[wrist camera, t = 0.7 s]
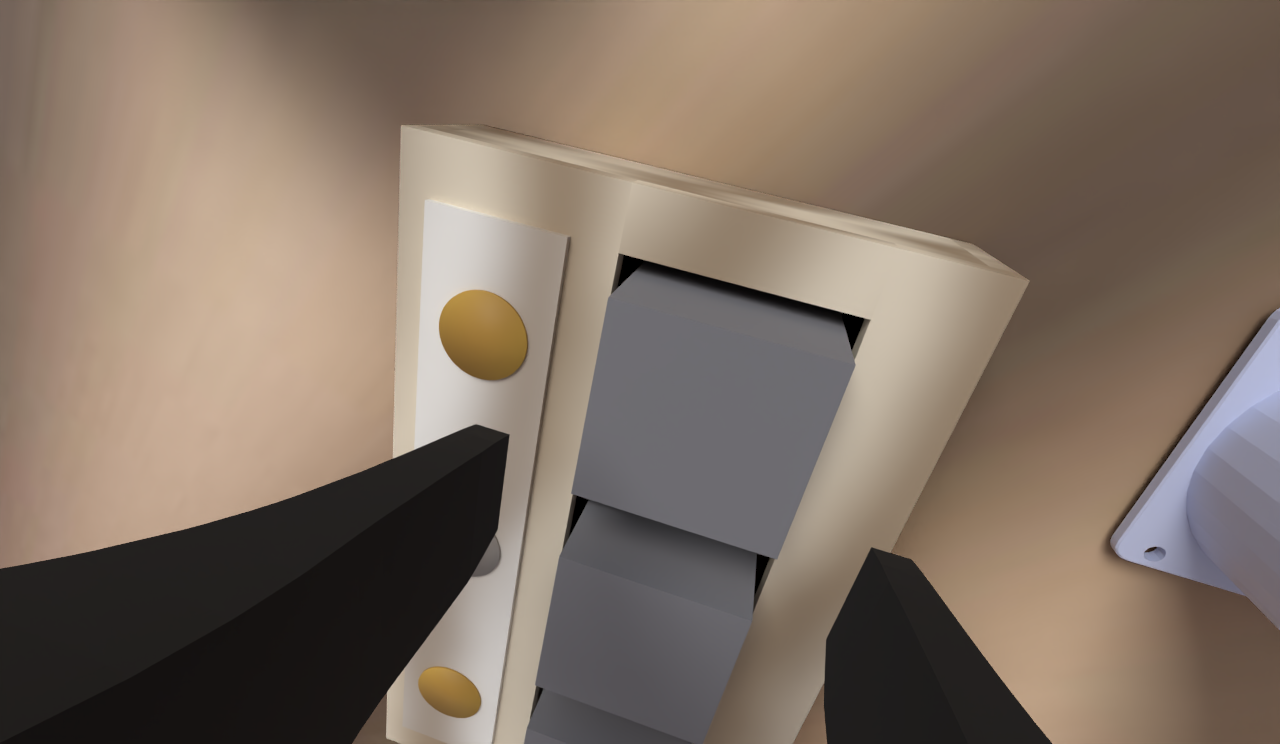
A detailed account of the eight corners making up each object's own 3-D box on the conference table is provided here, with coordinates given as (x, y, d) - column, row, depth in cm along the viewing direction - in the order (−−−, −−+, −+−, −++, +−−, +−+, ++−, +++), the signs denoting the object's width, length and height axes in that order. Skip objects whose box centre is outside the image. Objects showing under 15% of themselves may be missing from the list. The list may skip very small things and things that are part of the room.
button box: (972, 244, 15) (1035, 284, 11) (735, 764, 25) (726, 880, 21) (481, 124, 17) (392, 124, 13) (439, 655, 27) (381, 745, 23)
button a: (840, 312, 14) (856, 365, 11) (778, 476, 16) (776, 559, 13) (645, 260, 15) (608, 297, 12) (610, 425, 17) (571, 493, 14)
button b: (758, 530, 17) (752, 621, 14) (715, 645, 19) (701, 746, 16) (598, 480, 18) (558, 556, 15) (574, 597, 20) (534, 685, 17)
